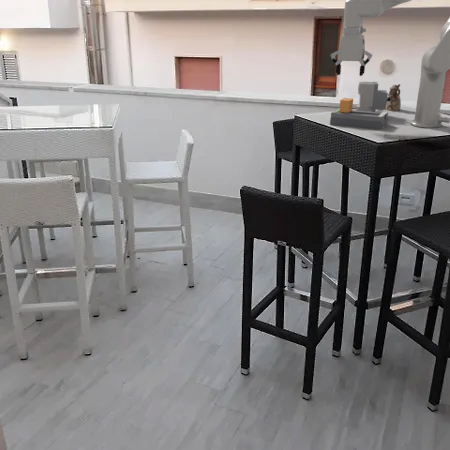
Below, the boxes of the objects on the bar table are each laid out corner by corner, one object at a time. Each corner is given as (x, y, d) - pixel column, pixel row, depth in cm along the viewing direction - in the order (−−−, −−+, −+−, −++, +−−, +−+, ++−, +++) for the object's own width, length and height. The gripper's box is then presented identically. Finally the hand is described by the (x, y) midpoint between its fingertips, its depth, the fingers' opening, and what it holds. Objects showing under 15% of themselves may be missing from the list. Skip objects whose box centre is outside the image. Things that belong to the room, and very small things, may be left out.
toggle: (351, 115, 215) (353, 98, 212) (348, 117, 210) (349, 100, 208) (342, 114, 217) (344, 98, 214) (338, 116, 212) (340, 100, 209)
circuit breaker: (388, 118, 223) (392, 84, 217) (356, 117, 226) (359, 83, 220) (387, 114, 230) (390, 81, 224) (355, 114, 232) (358, 81, 226)
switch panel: (387, 124, 212) (388, 111, 210) (381, 129, 203) (382, 116, 201) (337, 119, 222) (338, 107, 219) (329, 124, 213) (330, 112, 211)
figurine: (382, 108, 243) (384, 83, 238) (394, 107, 245) (398, 83, 240) (389, 111, 237) (392, 85, 232) (403, 110, 238) (406, 85, 233)
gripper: (376, 31, 199) (372, 74, 206) (334, 31, 206) (332, 73, 213) (371, 32, 193) (368, 77, 200) (329, 32, 201) (327, 75, 208)
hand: (349, 75), depth 207 cm, fingers open, 9 cm apart
